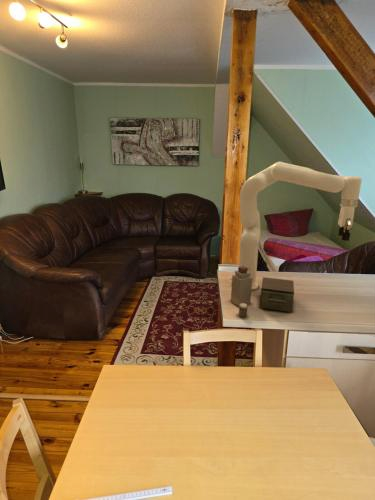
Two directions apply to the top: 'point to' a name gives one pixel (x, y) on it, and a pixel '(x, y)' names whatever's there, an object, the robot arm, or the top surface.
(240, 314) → the salt shaker
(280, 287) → the cabinet
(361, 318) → the top surface
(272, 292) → the drawer
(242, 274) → the perfume bottle
